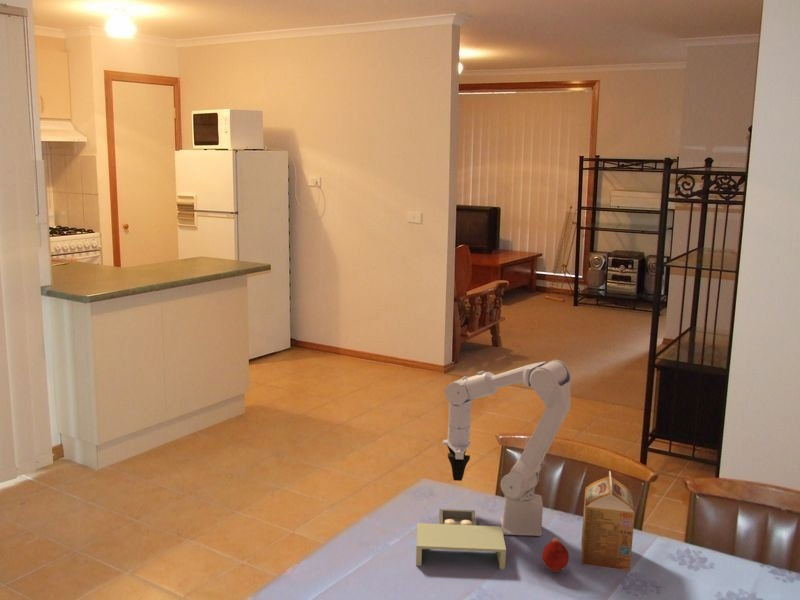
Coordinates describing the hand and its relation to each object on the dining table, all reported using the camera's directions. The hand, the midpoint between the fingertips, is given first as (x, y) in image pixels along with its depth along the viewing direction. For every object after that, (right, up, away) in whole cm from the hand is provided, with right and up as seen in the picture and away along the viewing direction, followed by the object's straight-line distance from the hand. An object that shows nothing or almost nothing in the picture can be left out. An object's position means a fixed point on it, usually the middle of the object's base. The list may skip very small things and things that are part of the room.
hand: (457, 475), depth 199 cm
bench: (-1, -14, -22) cm, 26 cm away
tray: (-1, -12, -8) cm, 14 cm away
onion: (+20, -15, -28) cm, 37 cm away
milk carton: (+33, -14, -20) cm, 41 cm away
